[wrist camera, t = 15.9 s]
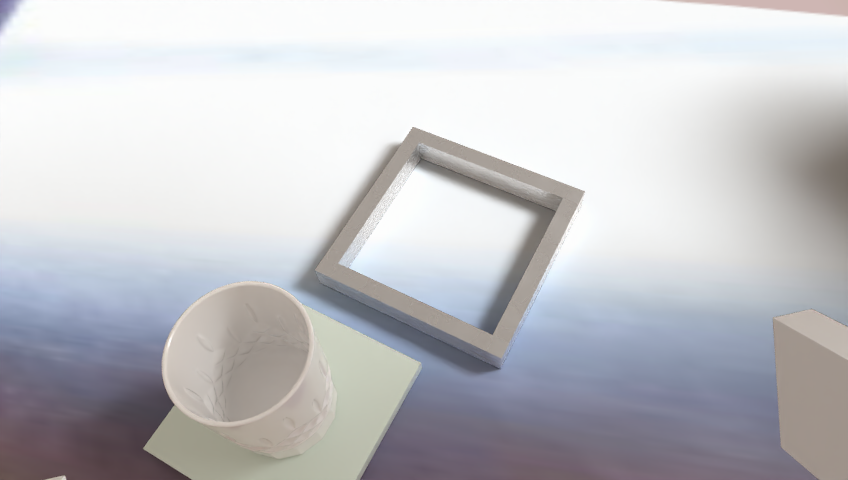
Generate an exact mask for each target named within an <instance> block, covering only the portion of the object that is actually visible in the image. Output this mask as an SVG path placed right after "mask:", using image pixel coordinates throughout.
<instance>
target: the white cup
mask: <svg viewBox="0 0 848 480" xmlns="http://www.w3.org/2000/svg"><path fill="white" fill-rule="evenodd" d="M162 377H163V382H164V385H165V388H166V391H167V393H168V395H169V397H170V399H171V400H172V402H173V403H174V404H175V406H176V407H177V408H178V409H179V410H180V411H181V412H182V413H184V414H185V415H186V416H188V417H189V418H191V419H193V420H195V421H196V422H198V423H200V424H202V425H203V426H205V427H207V428H208V429H210V430H212V431H213V432H215V433H217V434H218V435H220V436H222V437H224V438H225V439H227V440H230V441H232V442H234V443H235V444H237V445H239V446H241V447H243V448H246V449H248V450H251V451H252V452H254V453H256V454H260V455H263V456H267V457H271V458H275V459H282V458H287V457H291V456H296V455H300V454H303V453H304V452H306V451H307V450H308V449H310V448H311V447H312V446H314V445H315V444H317V443H318V442H319V441H321V440H322V439H323V437H324V436H325V434H326V432H327V431H328V429H329V427H330V425H331V424H332V422H333V420H334V418H335V414H336V404H337V391H336V388H335V386H334V383H333V381H332V377H331V371H330V368H329V365H328V362H327V358H326V356H325V354H324V352H323V349H322V347H321V345H320V342H319V340H318V337H317V335H316V333H315V330H314V328H313V325H312V323H311V320H310V318H309V316H308V314H307V312H306V310H305V309H304V307H303V306H302V304H301V303H300V302H299V301H298V300H297V299H296V298H295V297H294V296H293V295H292V294H290V293H289V292H287V291H286V290H284V289H282V288H280V287H278V286H275V285H272V284H269V283H264V282H256V281H246V282H237V283H232V284H228V285H225V286H222V287H219V288H217V289H215V290H213V291H211V292H209V293H207V294H205V295H204V296H202V297H201V298H199V299H198V300H197V301H195V302H194V303H193V304H192V305H191V306H190V307H189V308H188V309H187V310H186V311H185V312H184V313H183V314H182V315H181V316H180V318H179V319H178V320H177V322H176V323H175V325H174V326H173V328H172V330H171V332H170V334H169V336H168V338H167V341H166V344H165V347H164V351H163V356H162Z"/></svg>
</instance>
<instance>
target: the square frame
mask: <svg viewBox="0 0 848 480" xmlns="http://www.w3.org/2000/svg"><path fill="white" fill-rule="evenodd" d="M420 159H424V160H426V161H429V162H431V163H434V164H437V165H439V166H442V167H444V168H447V169H449V170H452V171H454V172H457V173H460V174H462V175H465V176H467V177H470V178H472V179H475V180H478V181H480V182H483V183H485V184H488V185H490V186H493V187H495V188H498V189H501V190H503V191H506V192H508V193H511V194H513V195H516V196H518V197H521V198H524V199H526V200H529V201H531V202H534V203H536V204H539V205H542V206H544V207H547V208H549V209H552V210H554V211H556V213H555V215H554V217H553V219H552V221H551V223H550V225H549V226H548V228H547V230H546V232H545V234H544V236H543V238H542V240H541V242H540V244H539V246H538V248H537V250H536V252H535V254H534V256H533V257H532V259H531V261H530V263H529V265H528V267H527V269H526V271H525V273H524V275H523V277H522V279H521V281H520V283H519V285H518V287H517V289H516V290H515V292H514V294H513V296H512V298H511V300H510V302H509V304H508V306H507V308H506V310H505V312H504V314H503V316H502V318H501V320H500V321H499V323H498V325H497V327H496V329H495V331H494V333H493V335H491V334H489V333H487V332H485V331H483V330H481V329H478V328H476V327H474V326H472V325H470V324H468V323H466V322H463V321H461V320H459V319H457V318H455V317H453V316H450V315H448V314H446V313H444V312H442V311H440V310H437V309H435V308H433V307H431V306H429V305H427V304H425V303H422V302H420V301H418V300H416V299H414V298H412V297H409V296H407V295H405V294H403V293H401V292H399V291H397V290H394V289H392V288H390V287H388V286H386V285H384V284H381V283H379V282H377V281H375V280H373V279H371V278H368V277H366V276H364V275H362V274H360V273H358V272H356V271H353V270H351V269H349V266H350V265H351V263H352V262H353V260H354V259H355V257H356V256H357V254H358V253H359V251H360V250H361V248H362V247H363V245H364V244H365V242H366V241H367V239H368V238H369V236H370V235H371V233H372V232H373V230H374V229H375V227H376V226H377V224H378V223H379V221H380V220H381V218H382V217H383V215H384V214H385V212H386V211H387V209H388V208H389V206H390V204H391V203H392V201H393V200H394V198H395V197H396V195H397V194H398V192H399V191H400V189H401V188H402V186H403V185H404V183H405V182H406V180H407V179H408V177H409V176H410V174H411V173H412V171H413V170H414V168H415V167H416V165H417V164H418V162H419V161H420ZM584 193H585V191H582V190H580V189H577V188H574V187H572V186H569V185H566V184H564V183H561V182H558V181H556V180H553V179H550V178H548V177H545V176H542V175H540V174H537V173H534V172H532V171H529V170H526V169H524V168H521V167H518V166H516V165H513V164H510V163H508V162H505V161H502V160H500V159H497V158H495V157H492V156H489V155H487V154H484V153H481V152H479V151H476V150H473V149H471V148H468V147H465V146H463V145H460V144H457V143H455V142H452V141H449V140H447V139H444V138H441V137H439V136H436V135H433V134H431V133H428V132H425V131H423V130H420V129H417V128H415V127H413V128H412V129H411V131H410V132H409V134H408V135H407V137H406V138H405V140H404V141H403V142H402V144H401V145H400V147H399V148H398V150H397V151H396V153H395V154H394V156H393V157H392V158H391V160H390V161H389V163H388V164H387V166H386V167H385V169H384V170H383V172H382V173H381V174H380V176H379V177H378V179H377V180H376V182H375V183H374V185H373V186H372V188H371V189H370V190H369V192H368V193H367V195H366V196H365V198H364V199H363V201H362V202H361V203H360V205H359V206H358V208H357V209H356V211H355V212H354V214H353V215H352V217H351V218H350V219H349V221H348V222H347V224H346V225H345V227H344V228H343V230H342V231H341V233H340V234H339V235H338V237H337V238H336V240H335V241H334V243H333V244H332V246H331V247H330V249H329V250H328V251H327V253H326V254H325V256H324V257H323V259H322V260H321V262H320V263H319V265H318V266H317V267H316V269H315V272H316V274H317V277H318V279H319V281H320V283H321V284H323V285H326V286H328V287H330V288H332V289H334V290H336V291H338V292H340V293H342V294H344V295H346V296H349V297H351V298H353V299H355V300H357V301H359V302H361V303H363V304H365V305H367V306H369V307H371V308H374V309H376V310H378V311H380V312H382V313H384V314H386V315H388V316H390V317H392V318H394V319H397V320H399V321H401V322H403V323H405V324H407V325H409V326H411V327H413V328H415V329H417V330H420V331H422V332H424V333H426V334H428V335H430V336H432V337H434V338H436V339H438V340H440V341H442V342H445V343H447V344H449V345H451V346H453V347H455V348H457V349H459V350H461V351H463V352H465V353H468V354H470V355H472V356H474V357H476V358H478V359H480V360H482V361H484V362H486V363H488V364H491V365H493V366H495V367H497V368H499V369H501V367H502V365H503V363H504V361H505V359H506V357H507V355H508V353H509V351H510V349H511V347H512V345H513V343H514V341H515V339H516V337H517V335H518V333H519V331H520V329H521V327H522V325H523V323H524V321H525V319H526V317H527V315H528V313H529V311H530V309H531V307H532V305H533V303H534V301H535V299H536V297H537V295H538V293H539V291H540V289H541V287H542V285H543V282H544V280H545V278H546V276H547V274H548V272H549V270H550V268H551V266H552V264H553V262H554V260H555V258H556V256H557V254H558V252H559V250H560V248H561V246H562V244H563V242H564V240H565V238H566V236H567V234H568V232H569V230H570V228H571V226H572V224H573V222H574V220H575V218H576V216H577V214H578V212H579V210H580V208H581V205H582V201H583V197H584Z"/></svg>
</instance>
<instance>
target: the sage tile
mask: <svg viewBox="0 0 848 480" xmlns="http://www.w3.org/2000/svg"><path fill="white" fill-rule="evenodd" d="M302 306H303V307H304V309H305V310H306V312H307V314H308V316H309V318H310V320H311V323H312V325H313V328H314V330H315V333H316V335H317V337H318V340H319V342H320V345H321V347H322V349H323V352H324V354H325V356H326V358H327V362H328V365H329V368H330V371H331V377H332V381H333V383H334V386H335V388H336V391H337V404H336V414H335V418H334V420H333V422H332V424H331V425H330V427H329V429H328V431H327V432H326V434H325V436H324V437H323V439H322V440H321V441H319V442H318V443H317V444H315V445H314V446H312V447H311V448H310V449H308V450H307V451H306V452H304V453H303V454H300V455H296V456H291V457H287V458H282V459H275V458H271V457H267V456H263V455H260V454H256V453H254V452H252V451H251V450H248V449H246V448H243V447H241V446H239V445H237V444H235V443H234V442H232V441H230V440H227V439H225V438H224V437H222V436H220V435H218V434H217V433H215V432H213V431H212V430H210V429H208V428H207V427H205V426H203V425H202V424H200V423H198V422H196V421H195V420H193V419H191V418H189V417H188V416H186V415H185V414H184V413H182V412H181V411H180V410H179V409H178V408H177V407H176V406H175V405H174V406H173V408H172V409H171V411H170V412H169V413H168V415H167V416H166V417H165V419H164V420H163V422H162V423H161V424H160V426H159V427H158V429H157V430H156V431H155V433H154V434H153V435H152V437H151V438H150V440H149V441H148V442H147V444H146V445H145V447H144V448H143V449H144V450H146V451H147V452H149V453H150V454H152V455H154V456H155V457H157V458H158V459H160V460H162V461H163V462H165V463H166V464H168V465H170V466H171V467H173V468H174V469H176V470H178V471H179V472H181V473H182V474H184V475H185V476H187V477H189V478H190V479H192V480H360V479H361V477H362V475H363V473H364V471H365V470H366V468H367V466H368V464H369V462H370V461H371V459H372V457H373V455H374V453H375V452H376V450H377V448H378V446H379V444H380V443H381V441H382V439H383V437H384V435H385V434H386V432H387V430H388V428H389V426H390V425H391V423H392V421H393V419H394V417H395V416H396V414H397V412H398V410H399V408H400V407H401V405H402V403H403V401H404V400H405V398H406V396H407V394H408V392H409V391H410V389H411V387H412V385H413V383H414V382H415V380H416V378H417V376H418V374H419V373H420V371H421V369H422V365H421V363H420V362H418V361H416V360H414V359H412V358H410V357H408V356H406V355H404V354H402V353H400V352H398V351H396V350H394V349H392V348H390V347H388V346H386V345H384V344H382V343H380V342H378V341H376V340H374V339H372V338H370V337H368V336H366V335H364V334H362V333H360V332H358V331H356V330H354V329H352V328H350V327H348V326H346V325H344V324H342V323H340V322H338V321H335V320H333V319H331V318H329V317H327V316H325V315H323V314H321V313H319V312H317V311H315V310H313V309H311V308H309V307H307V306H305V305H303V304H302Z"/></svg>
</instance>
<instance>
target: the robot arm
mask: <svg viewBox="0 0 848 480" xmlns="http://www.w3.org/2000/svg"><path fill="white" fill-rule="evenodd" d="M773 329H774V345H775V361H776V376H777V392H778V408H779V424H780V440H781V448H783V449H784V450H785V451H786V452H787V453H788V454H790V455H791V456H792V457H793V458H794V459H795V460H797V461H798V462H799V463H800V464H801V465H802V466H803V467H805V468H806V469H807V470H808V471H809V472H810V473H812V474H813V475H814V476H815V477H816V478H817V479H819V480H848V327H847V326H845V325H843V324H841V323H839V322H837V321H835V320H833V319H831V318H829V317H827V316H825V315H823V314H821V313H819V312H817V311H815V310H813V309H809V310H805V311H800V312H796V313H791V314H787V315H782V316H778V317H773ZM46 480H66V477H65V475H64V476H59V477H55V478H50V479H46Z"/></svg>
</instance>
